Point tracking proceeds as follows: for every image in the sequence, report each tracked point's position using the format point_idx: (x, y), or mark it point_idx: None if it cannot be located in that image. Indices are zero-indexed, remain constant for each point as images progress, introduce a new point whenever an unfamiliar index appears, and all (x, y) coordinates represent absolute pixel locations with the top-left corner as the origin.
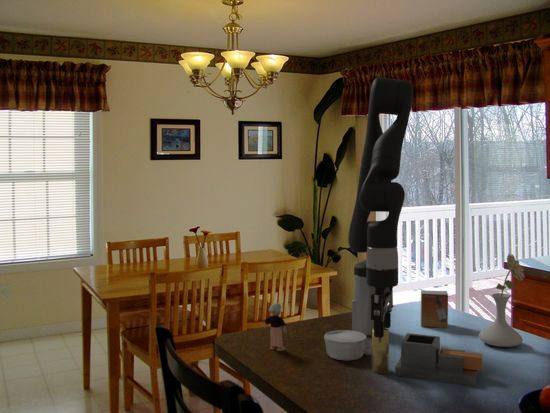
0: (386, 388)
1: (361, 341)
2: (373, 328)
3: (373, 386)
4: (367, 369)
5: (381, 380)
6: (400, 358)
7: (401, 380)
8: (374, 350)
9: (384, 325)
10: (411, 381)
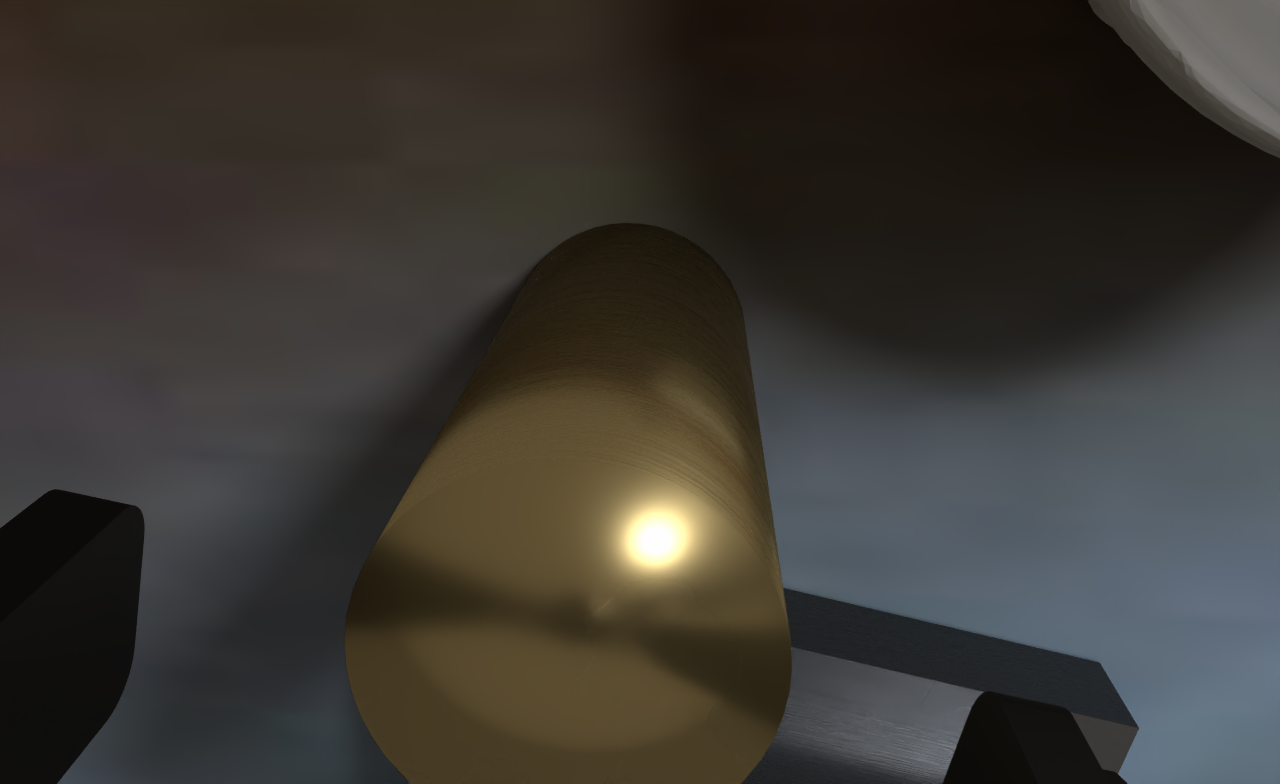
0: (10, 391)
1: (1184, 87)
2: (675, 498)
3: (22, 236)
4: (642, 159)
5: (257, 342)
6: (821, 658)
7: (319, 573)
8: (488, 353)
9: (971, 782)
10: (315, 674)
